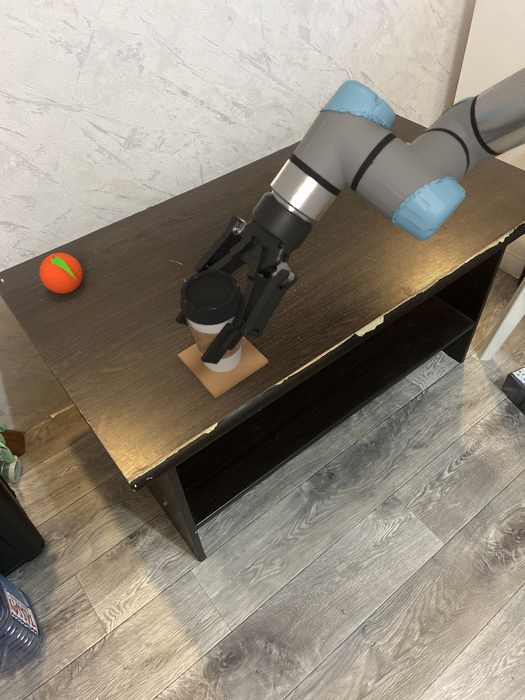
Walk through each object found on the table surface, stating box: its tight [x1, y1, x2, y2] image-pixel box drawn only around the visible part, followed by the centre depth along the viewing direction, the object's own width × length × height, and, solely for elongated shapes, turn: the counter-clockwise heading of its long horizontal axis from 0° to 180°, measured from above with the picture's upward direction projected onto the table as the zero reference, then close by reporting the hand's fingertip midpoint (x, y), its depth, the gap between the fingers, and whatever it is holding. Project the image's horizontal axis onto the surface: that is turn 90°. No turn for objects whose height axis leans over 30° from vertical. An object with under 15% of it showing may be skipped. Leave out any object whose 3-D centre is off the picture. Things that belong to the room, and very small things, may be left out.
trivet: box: [177, 335, 269, 399], centre depth 77 cm, size 10×10×1 cm
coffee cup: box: [179, 270, 243, 372], centre depth 71 cm, size 8×8×15 cm
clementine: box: [39, 252, 84, 294], centre depth 86 cm, size 8×7×7 cm
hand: (195, 341), depth 71 cm, fingers closed on coffee cup, 8 cm apart
